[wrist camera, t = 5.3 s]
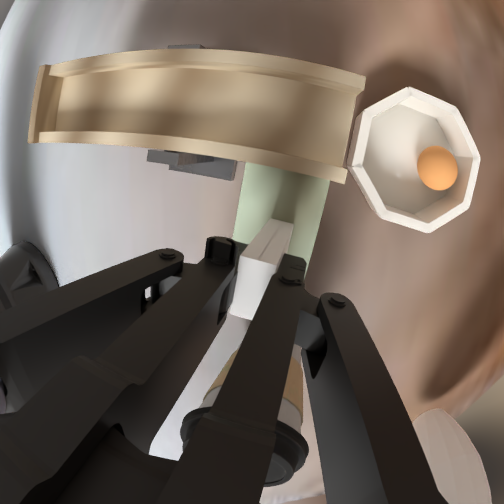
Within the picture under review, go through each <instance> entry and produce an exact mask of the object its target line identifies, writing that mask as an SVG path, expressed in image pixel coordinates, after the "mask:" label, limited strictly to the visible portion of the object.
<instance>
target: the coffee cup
mask: <svg viewBox="0 0 504 504" xmlns="http://www.w3.org/2000/svg"><path fill="white" fill-rule="evenodd" d="M240 346H241V344H240ZM240 346H239V347H238V349H237V350H236V351H235V352H234V353H233V354H232V355H231V357H230V358H229V360H228V361H227V363H226V365H225V366H224V368H223V369H222V371H221V372H220V374H219V375H218V377H217V378H216V380H215V381H214V383H213V384H212V386H211V387H210V389H209V390H208V392H207V393H206V395H205V397H204V399H203V403H202V404H201V406H200V407H199V408H198V409H195V410H193V411H191V412H189V413H188V414H187V415H186V416H185V417H184V419H183V422H182V426H181V429H180V435H181V439H182V441H183V451H184V449H185V447H186V446H187V444H188V442H189V440H190V438H191V436H192V434H193V432H194V430H195V428H196V426H197V424H198V422H199V421H200V419H201V417H202V416H203V415H204V413H207V414H208V412H209V411H210V409H211V407H212V405H213V403H214V401H215V399H216V397H217V395H218V393H219V391H220V388H221V386H222V384H223V382H224V380H225V378H226V376H227V374H228V372H229V369H230V367H231V365H232V363H233V361H234V359H235V356H236V354H237V352H238V350H239V348H240ZM302 423H303V371H302V368H301V347H300V346H298V345H296V344H294V346H293V351H292V356H291V361H290V366H289V370H288V375H287V380H286V384H285V389H284V393H283V398H282V402H281V406H280V410H279V414H278V419H277V423H276V427H275V432H274V434H276V441H275V446H274V450H273V454H272V458H271V462H270V465H269V469H268V473H267V476H266V480H265V484H264V487H270V486H276V485H280V484H283V483H285V482H287V481H289V480H290V479H291V478H292V476H293V474H294V473H295V472H296V471H298V470H299V469H300V468H301V467H302V466H303V465H304V463H305V460H306V458H307V456H308V453H309V447H308V444H307V442H306V440H305V439H304V437H303V436H302V435H301V426H302Z"/></svg>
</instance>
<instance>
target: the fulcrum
mask: <svg viewBox="0 0 504 504" xmlns="http://www.w3.org/2000/svg"><path fill="white" fill-rule="evenodd" d="M168 49H205V48H204V47H203V46H202V45H174V46H168ZM147 161H149V162H156V163H163V164H169V170H175V171H181V172H187V173H192V174H198V175H203V176H209V177H214V178H219V179H224V180H229V181H232V180H234V175H235V169H236V164H237V160H232V159H226V158H220V157H214V156H207V155H201V154H194V153H187V152H179V151H171V150H162V149H152V150H148V156H147Z"/></svg>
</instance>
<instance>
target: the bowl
mask: <svg viewBox="0 0 504 504" xmlns="http://www.w3.org/2000/svg"><path fill="white" fill-rule="evenodd" d="M430 146H441V147H443V148H445V149H447V150H448V151H449V152H451V154H452V155H453V156H454V158H455V160H456V162H457V166H458V174H457V178H456V180H455V182H454V184H453V185H452V186H451V187H449V188H447V189H445V190H434V189H431V188H429V187H428V186H426V185H425V184H424V183H423V182H422V180H421V179H420V177H419V174H418V171H417V161H418V158H419V155H420V154H421V152H422V151H423V150H424V149H426V148H428V147H430ZM479 157H480V155H479V152H478V150H477V148H476V145H475V143H474V141H473V139H472V137H471V134H470V132H469V130H468V128H467V126H466V124H465V122H464V120H463V118H462V116H461V114H460V112H459V111H458V109H457V108H456V107H455V106H453V105H451V104H449V103H447V102H445V101H442V100H440V99H438V98H436V97H433V96H431V95H429V94H426V93H424V92H422V91H419V90H417V89H414V88H411V87H406V88H404V89H402V90H400V91H398V92H396V93H394V94H392V95H390V96H389V97H387V98H385V99H383V100H381V101H379V102H377V103H375V104H374V105H372V106H370V107H368V108H366V109H365V110H363V111H362V112H361V113H360V114H359V115H358V116H357V118H356V120H355V125H354V130H353V135H352V140H351V144H350V149H349V154H348V158H347V163H346V164H348V165H347V167H348V169H349V171H350V172H351V174H352V176H353V177H354V179H355V181H356V183H357V184H358V186H359V188H360V190H361V191H362V193H363V195H364V197H365V199H366V200H367V202H368V204H369V206H370V207H371V209H372V210H373V211H374V212H375V213H376V214H377V215H378V216H379V217H380V218H381V219H384V220H388V221H391V222H394V223H397V224H400V225H404V226H407V227H410V228H413V229H416V230H419V231H422V232H425V233H431V232H432V231H434V230H436V229H437V228H439V227H440V226H442V225H444V224H445V223H447V222H448V221H450V220H452V219H453V218H455V217H456V216H458V215H460V214H461V213H463V212H464V211H466V210H467V209H468V207H469V206H470V203H471V199H472V195H473V191H474V187H475V183H476V178H477V174H478V169H479V164H480V158H479Z"/></svg>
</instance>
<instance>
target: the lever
mask: <svg viewBox="0 0 504 504" xmlns="http://www.w3.org/2000/svg"><path fill="white" fill-rule="evenodd" d="M365 80H366V77H365V76H362V75H358V74H355V73H352V72H348V71H345V70H341V69H337V68H333V67H329V66H325V65H321V64H317V63H312V62H308V61H303V60H298V59H293V58H287V57H281V56H275V55H268V54H261V53H252V52H243V51H232V50H217V49H155V50H140V51H129V52H120V53H112V54H105V55H98V56H92V57H87V58H81V59H76V60H72V61H67V62H63V63H59V64H55V65H42V66H40V67H39V71H38V75H37V80H36V85H35V90H34V96H33V102H32V108H31V115H30V123H29V132H28V143H88V144H106V145H121V146H133V147H144V148H153V149H162V150H171V151H179V152H187V153H194V154H201V155H207V156H214V157H220V158H226V159H232V160H238V161H243V162H246V165H245V171H244V176H243V182H242V187H241V193H240V198H239V204H238V210H237V215H236V221H235V227H234V233H233V238H232V239H233V240H235V241H237V242H241V243H245V244H250V243H251V241H252V240H253V239H254V238H255V236H256V235H257V234H258V233H259V232H260V230H261V229H262V228H263V227H264V225H265V224H266V223H267V222H268V221H269V219H270V218H272V219H276V220H280V221H284V222H288V223H292V224H294V227H293V231H292V235H291V239H290V243H289V247H288V251H287V254H290V255H293V256H297V257H301V258H304V260H305V261H306V263H307V265H306V271H305V275H306V272H307V268H308V265H309V261H310V258H311V254H312V250H313V247H314V243H315V239H316V236H317V232H318V228H319V224H320V220H321V217H322V213H323V209H324V205H325V201H326V197H327V192H328V188H329V184H330V181H334V182H338V183H342V184H345V180H346V176H347V172H348V169H345V168H342V165H343V161H344V156H345V152H346V147H347V142H348V138H349V133H350V128H351V123H352V118H353V112H354V107H355V102H356V96H357V95H358V94H359V93H361V92H362V91H363V90H364V86H365ZM304 279H305V277H304Z"/></svg>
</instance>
